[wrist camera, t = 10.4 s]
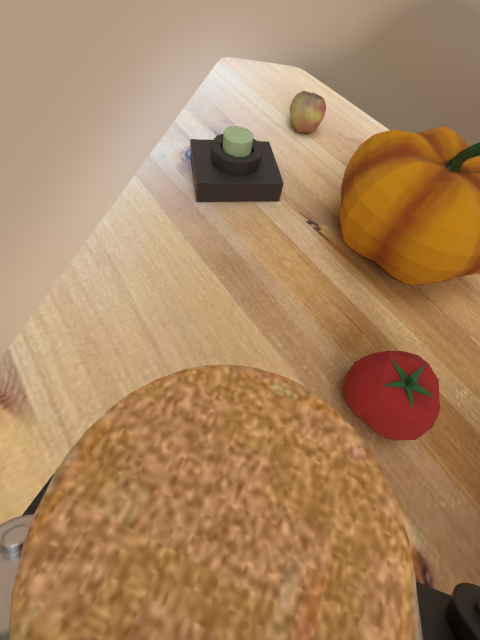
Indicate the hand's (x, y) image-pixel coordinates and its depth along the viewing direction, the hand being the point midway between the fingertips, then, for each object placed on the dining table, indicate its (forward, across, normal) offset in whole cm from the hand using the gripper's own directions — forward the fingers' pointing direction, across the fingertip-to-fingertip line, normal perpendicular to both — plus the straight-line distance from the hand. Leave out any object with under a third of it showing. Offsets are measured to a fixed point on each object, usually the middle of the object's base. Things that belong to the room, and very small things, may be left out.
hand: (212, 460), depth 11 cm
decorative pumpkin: (+35, -22, -10) cm, 43 cm away
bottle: (+4, 0, +7) cm, 8 cm away
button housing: (+41, +1, -16) cm, 44 cm away
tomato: (+19, -16, +6) cm, 26 cm away
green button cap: (+38, +1, -20) cm, 43 cm away
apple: (+54, -10, -28) cm, 62 cm away
